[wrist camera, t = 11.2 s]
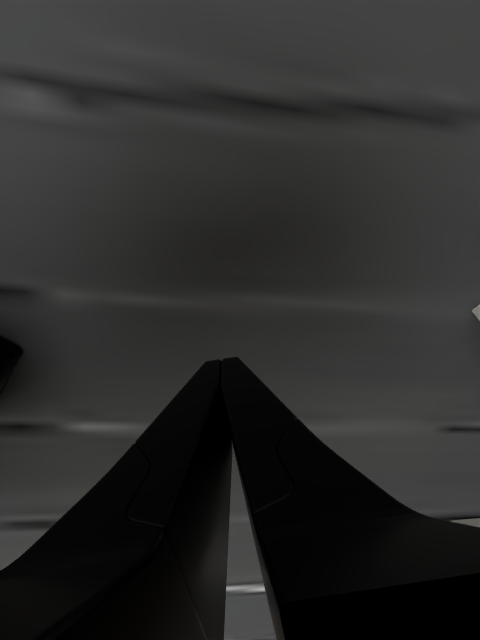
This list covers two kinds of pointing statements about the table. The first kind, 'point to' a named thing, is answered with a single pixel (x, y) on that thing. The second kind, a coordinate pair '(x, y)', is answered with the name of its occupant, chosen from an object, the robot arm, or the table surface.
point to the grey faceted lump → (477, 311)
